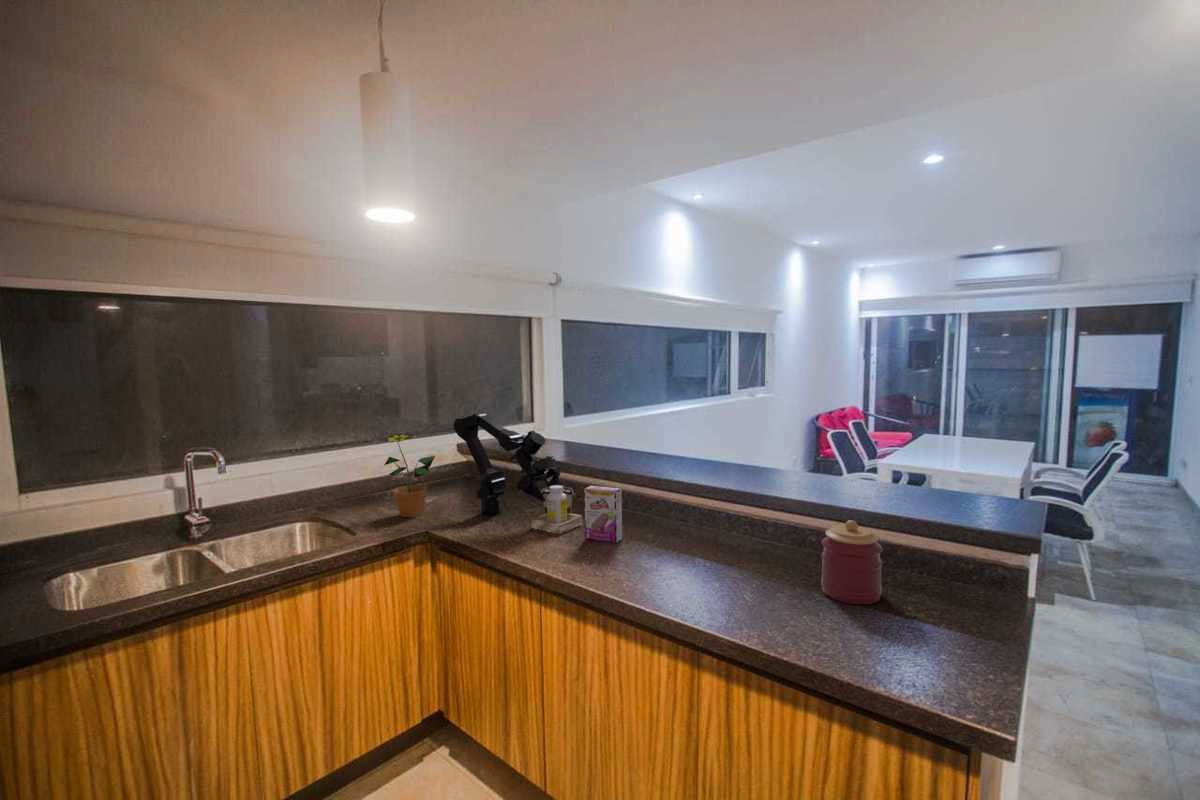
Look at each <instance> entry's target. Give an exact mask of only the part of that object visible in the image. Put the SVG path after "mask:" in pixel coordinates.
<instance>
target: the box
mask: <svg viewBox="0 0 1200 800" xmlns="http://www.w3.org/2000/svg"><path fill="white" fill-rule="evenodd" d="M530 521H531V523H530V524H531V529H532V528H534V529H533V530H537V529H539V530H538V531H542V530H543V532H546V531H547V533H551V532H552V534H556V533H557V535H562V533H563V534H565V533H567V532H569V531H572V530H573V529H575V527H576V528H577V527H580V526H583V524H584V523H583V515H581V514H574V513H571V514H570V513H567V522H565V523H562V524H555V523H550V522H548V517H547V514H545V513H544V514H543V515H540V516H538V517H534V518H532V519H531V520H530ZM564 532H565V533H564Z"/></svg>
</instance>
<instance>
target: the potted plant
mask: <svg viewBox="0 0 1200 800" xmlns="http://www.w3.org/2000/svg"><path fill="white" fill-rule="evenodd" d="M409 436H410V435H409V434H407V433H406V434H405V433H399V434H394V435H389V436H388V437H387V438H386V439H385V442H390V443H397V444H398V447H399V451H400V453H401V456H402V458H403V459H402V460H403V461H404V465H405V466H402V467H401V466H399V465H398V464H397V463H396V462H400V461H401V460H400V459H397V458H395V457H391V456H389V457H388V458H387V460H386V461H385V463H384V466H386V465H390V464H392V463H393V464H395V466H396V467H397V469H395V470H393V471H392V472H390V473H389V474H388V476H395V477H396V475H398V474H400V473H402V472H403V471H405V470H406V472H407V477H408V485H404V486H398V487H395V488H394V489H392V494H393V497H394V500H395V503H396V505H397V508H398V511H399V514H400V517H402V518H403V517H409V519H410V517H412V518H417V516H418V517H420V516H422V514H423V510H424V504H425V500H426V495H427V490H428V486H427V485H424V484H423V485H422V484H411V476H412V474H414V478H415V479H416V478H419V477H422V476H424V475H428V474H429V473H430V471H429V468H431V467H432V464H433V461H434V460H435V457H436V455H431V456H427V457H421V458H419V459H418V460H417V463H416V465H415V466H414V469H413V470H412V472H411V473H410V470H409V467H408V464H407V461H406V459H405V456H404V454H403V452H402V449H401V445H400V441H405V440H407V439H408V437H409ZM419 462H420V463H421V464H423V465H422V466H419V467H417V466H418V463H419ZM419 515H420V516H419Z"/></svg>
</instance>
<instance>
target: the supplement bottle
mask: <svg viewBox="0 0 1200 800" xmlns="http://www.w3.org/2000/svg"><path fill="white" fill-rule="evenodd" d="M548 487H549V486H548ZM549 491H550V494H548V496H547V517H548V522H550V523H555V524H562V523H565V522H567V502H566V495H565V494H564V493H563V485H560V484H559V485H554V486H550V487H549Z"/></svg>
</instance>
